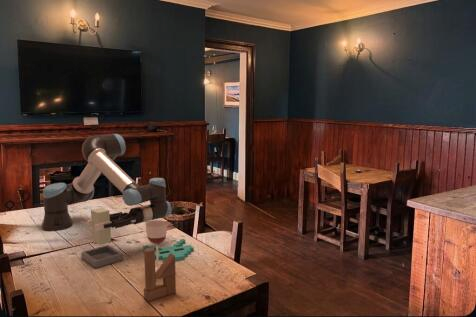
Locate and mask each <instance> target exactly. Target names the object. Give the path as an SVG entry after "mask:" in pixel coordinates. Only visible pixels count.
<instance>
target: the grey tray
mask: <svg viewBox="0 0 476 317" xmlns="http://www.w3.org/2000/svg"><path fill="white" fill-rule="evenodd" d="M80 254H81V255H80V256H81V259H82V260H83V261H84V262H85V263H87V264H89V266H91V267H93V268H94V269H95V270H96V269H100V268H103V267H106V266H108V265H113V264H115V263H119V262H122V261H124V253H123V252H122V251H120V250H118V249H116V248H115V247H113V246H111V245H109V244H105V245H103V246H102V245H101V246H98V247H96V248H92V249H89V250H88V249H87V250H83V251H81V253H80Z"/></svg>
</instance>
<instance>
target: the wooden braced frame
mask: <svg viewBox="0 0 476 317" xmlns="http://www.w3.org/2000/svg"><path fill="white" fill-rule="evenodd" d="M143 251H144V252H143V257H144V259H143V260H144V280H145V281H144V282H145V285H144V286H145V287H144V288H143V298H144V299H145V300H146V301H147V302H151V301H155V300H158V299H161V298H164V297H167V296H170V295H174V294H176V292H177V287H176V286H177V285H176V284H177V282H176V280H177V279H176V261H175V255H173V254H172V253H170V254H169V255H168V257H167V258H166V259H165V261H163V262H162V263H161V265H159V269H158V270H157V271H156V272H155V267H156V259H155V249H154V248H146V249H145V250H143ZM160 279H162V284H157V280H160Z"/></svg>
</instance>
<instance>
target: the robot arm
mask: <svg viewBox="0 0 476 317" xmlns="http://www.w3.org/2000/svg"><path fill="white" fill-rule="evenodd" d="M126 147H127V146H126V141H125V139H124V138H123V136H122V135H121V134H118V133H109V134H108V133H107V134H98V135H90V136H88V138H85V140H84V142H83V143H82V146H81V152H82V156H83V158H84V160H85V161H86V163H87V164H86V165H85V167H84V169H83V170H82V172H81V173H80V175H79V176H76V177H74V179H73V181H72V182H71V183H68V184H67V183H65V182H55V183H51V184H48V185H46V186H45V187H44V188H43V190H42V198H43V210H44V212H43V213H44V216H43V220H42V223H41V229H42V231H43V230H44V231H48V232H49V231H50V232H51V231H52V232H53V231H54V232H55V231H61V230H66V229H69V228H70V227H72V226H73V220H72V218H71V214H70V213H69V208H68V207H69V206H71V205H75V204H80V203H85V202H88V201H90V200H91V199H93V197H94V194H95V186H94V184H95V183H96V181H97V179H98V178H99V177H100V175H101V174H102V175H103V176H105V177H106V179H107V180H109V182H110V183H112V185H114V187H116V188H117V189H118V191H120V192H121V193H122V197H121V198H122V200H123V203H124V204H125V205H127V206H130V207H131V206H134V207H131V208H130V209H129V212H127V211H125V212H122V211H119V212H115V213H109V215H110V221H108V222H104V223H100V224H95V231H99V230H103V229H107V228H110V229H111V228H112V229H119V228H123V227H126V226H129V225H140V224H141V223H147V222H149V221H153V220H159V219H163V218H167V217H169V216H171V214H172V210H173V207H172V205H171V203H170V202H169V201H168V200H167V196H166V195H167V191H166V188H167V186H166V180H165V179H164V178H163V177H153V178H150V179H149V182H148V184H143V185H139V184H138V183H137V182H136V181H135V180H134V179H132V178H131V176H129V175H128V174H127V173H126V172H125V171H124V170H123V169H122V168H121V166H119V165H118V164H117V163H116V162H115V159H116V158H117V157H118V156H119V157H120V156H123V155H124V154H125V152H126ZM146 202H149V204H144V205H140V206H137V205H139V204H143V203H146ZM135 206H136V207H135ZM87 227H88V228H89V227H90V228H92V220H91V219H88V220H87Z"/></svg>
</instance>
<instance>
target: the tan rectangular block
mask: <svg viewBox="0 0 476 317" xmlns="http://www.w3.org/2000/svg"><path fill="white" fill-rule="evenodd" d="M109 214H110V210H109V209H106V208H104V207H98V208H94V209H93V208H92V209H90V220H92V226H91V232H92V234H91V235H92V241H93V243H96V244H97V245H98V246H102V245H107V244H109V243H112V235H111V234H112V233H111V228H107V229H103V230H99V231H95V224H100V223H104V222H108V221H110V215H109Z"/></svg>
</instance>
